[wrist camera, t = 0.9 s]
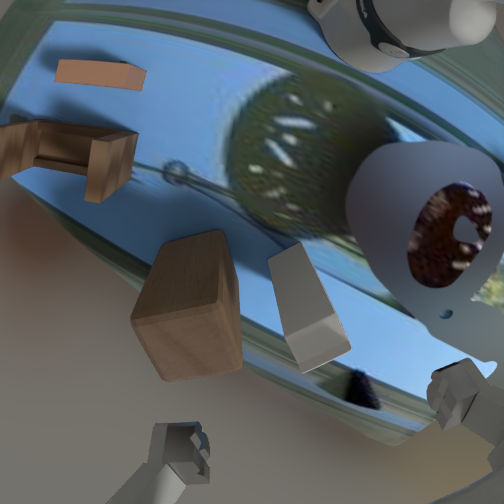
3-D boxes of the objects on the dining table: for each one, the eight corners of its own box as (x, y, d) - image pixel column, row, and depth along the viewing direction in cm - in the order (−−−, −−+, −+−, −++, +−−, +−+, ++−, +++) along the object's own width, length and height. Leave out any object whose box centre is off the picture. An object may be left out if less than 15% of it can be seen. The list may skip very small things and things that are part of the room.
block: (223, 225, 48) (219, 300, 30) (239, 282, 52) (245, 373, 34) (160, 241, 48) (124, 320, 30) (181, 295, 52) (162, 386, 34)
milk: (266, 258, 51) (287, 356, 31) (301, 240, 50) (343, 330, 30) (283, 287, 53) (310, 389, 33) (316, 270, 52) (360, 365, 32)
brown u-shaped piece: (36, 118, 38) (-10, 127, 27) (138, 133, 41) (108, 142, 30) (31, 161, 41) (-14, 180, 30) (129, 180, 44) (99, 203, 33)
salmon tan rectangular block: (86, 61, 36) (60, 55, 28) (147, 67, 37) (131, 60, 30) (80, 84, 37) (54, 81, 30) (141, 91, 39) (123, 88, 31)
